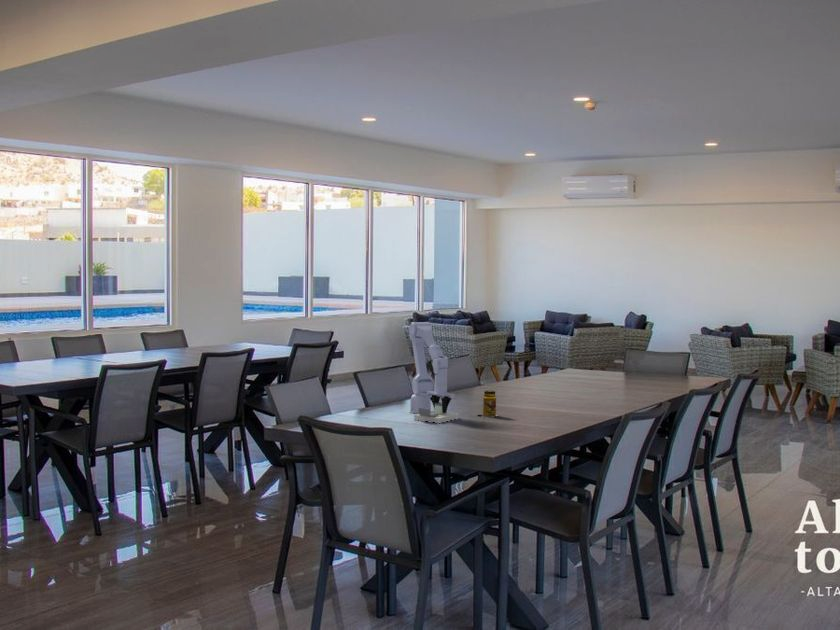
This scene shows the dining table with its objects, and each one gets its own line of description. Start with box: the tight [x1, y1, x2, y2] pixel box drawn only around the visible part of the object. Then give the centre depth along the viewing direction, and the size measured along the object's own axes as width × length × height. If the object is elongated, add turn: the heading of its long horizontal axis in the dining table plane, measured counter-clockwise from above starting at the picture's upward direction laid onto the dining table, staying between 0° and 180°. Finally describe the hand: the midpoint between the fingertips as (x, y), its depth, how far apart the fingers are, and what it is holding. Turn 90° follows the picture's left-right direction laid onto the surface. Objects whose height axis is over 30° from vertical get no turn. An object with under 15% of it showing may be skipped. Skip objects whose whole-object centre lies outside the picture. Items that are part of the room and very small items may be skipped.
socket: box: [413, 410, 460, 424], centre depth 389 cm, size 14×16×2 cm
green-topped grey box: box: [434, 401, 448, 415], centre depth 392 cm, size 4×4×6 cm
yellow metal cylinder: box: [482, 390, 499, 418], centre depth 401 cm, size 7×8×12 cm
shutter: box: [419, 408, 439, 417], centre depth 384 cm, size 6×7×4 cm
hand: (440, 412), depth 392 cm, fingers closed on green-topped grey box, 4 cm apart
